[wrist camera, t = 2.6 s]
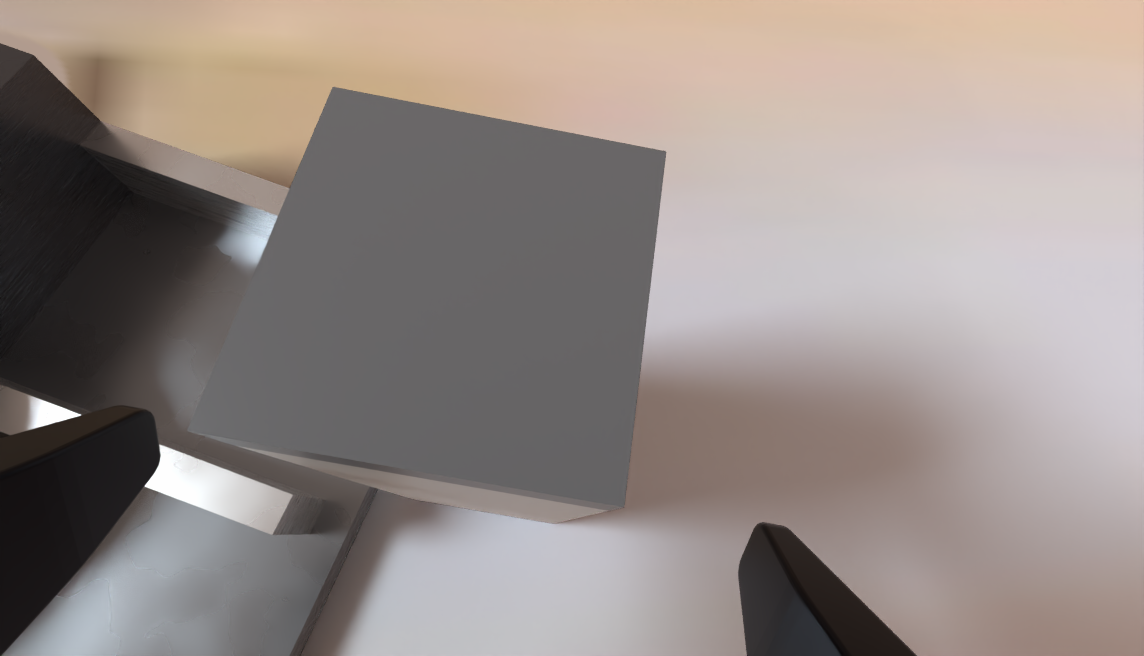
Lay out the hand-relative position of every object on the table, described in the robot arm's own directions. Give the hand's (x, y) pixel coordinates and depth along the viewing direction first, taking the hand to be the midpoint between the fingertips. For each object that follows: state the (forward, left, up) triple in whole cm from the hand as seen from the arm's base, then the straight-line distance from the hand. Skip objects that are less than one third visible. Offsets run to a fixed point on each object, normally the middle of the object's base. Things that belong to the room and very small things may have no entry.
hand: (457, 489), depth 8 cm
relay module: (+1, -2, -10) cm, 10 cm away
